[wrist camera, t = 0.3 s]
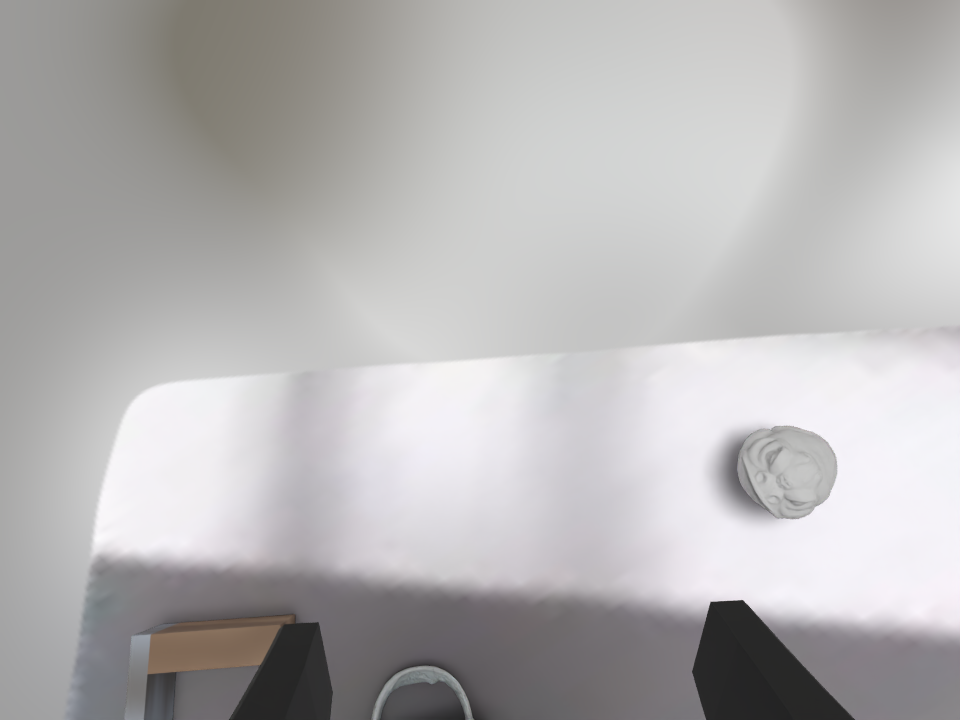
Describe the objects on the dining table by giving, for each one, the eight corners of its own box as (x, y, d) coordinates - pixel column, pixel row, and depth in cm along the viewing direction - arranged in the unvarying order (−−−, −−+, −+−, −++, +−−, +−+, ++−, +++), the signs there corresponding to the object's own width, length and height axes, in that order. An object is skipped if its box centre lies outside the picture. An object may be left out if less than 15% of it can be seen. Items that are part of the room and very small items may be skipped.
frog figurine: (692, 458, 42) (743, 446, 36) (770, 417, 44) (833, 398, 37) (737, 537, 41) (798, 540, 34) (815, 492, 43) (888, 487, 36)
